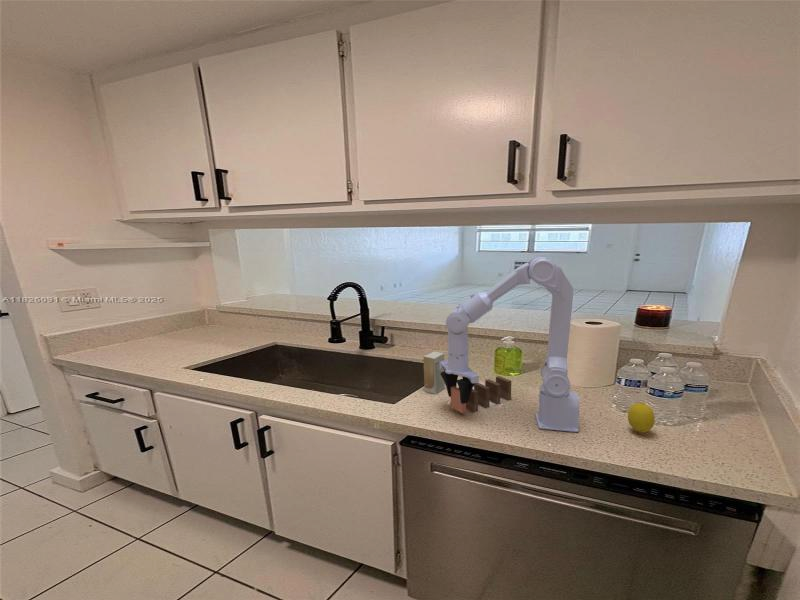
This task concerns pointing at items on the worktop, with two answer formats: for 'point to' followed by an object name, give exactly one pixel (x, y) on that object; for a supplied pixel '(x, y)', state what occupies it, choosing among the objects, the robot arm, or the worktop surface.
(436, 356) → the skincare box
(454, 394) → the domino
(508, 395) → the domino
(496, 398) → the domino
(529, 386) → the worktop surface
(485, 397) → the domino
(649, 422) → the lemon
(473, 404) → the domino
